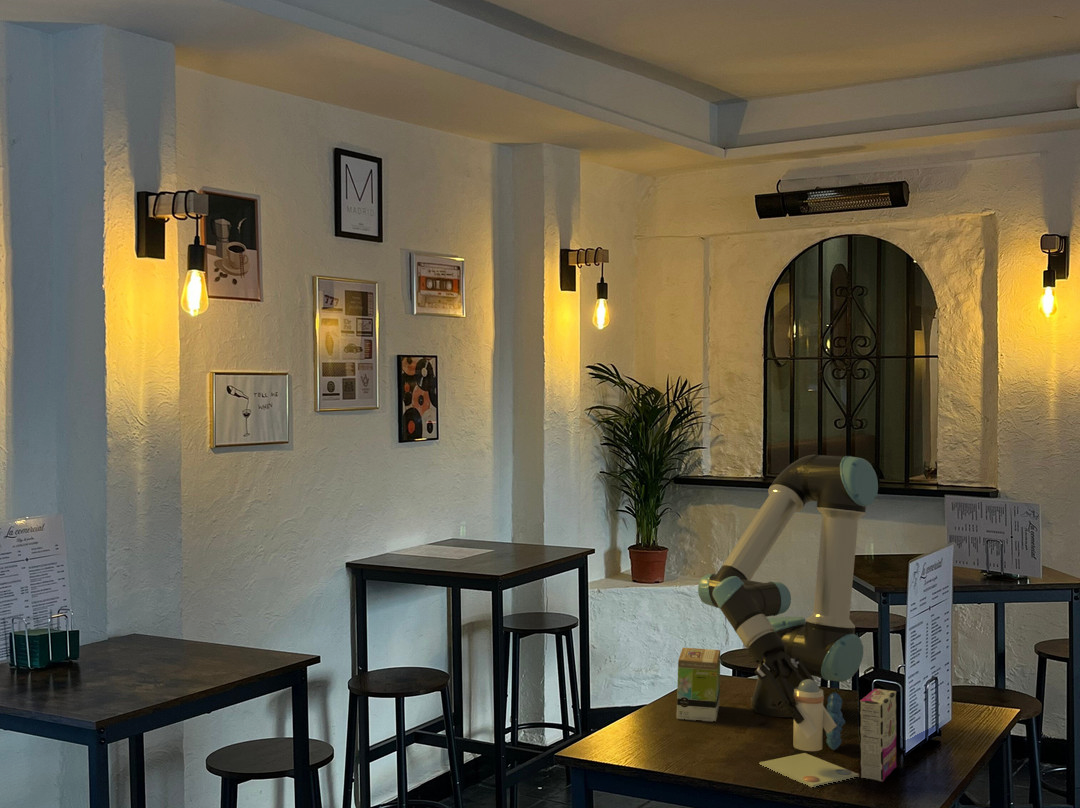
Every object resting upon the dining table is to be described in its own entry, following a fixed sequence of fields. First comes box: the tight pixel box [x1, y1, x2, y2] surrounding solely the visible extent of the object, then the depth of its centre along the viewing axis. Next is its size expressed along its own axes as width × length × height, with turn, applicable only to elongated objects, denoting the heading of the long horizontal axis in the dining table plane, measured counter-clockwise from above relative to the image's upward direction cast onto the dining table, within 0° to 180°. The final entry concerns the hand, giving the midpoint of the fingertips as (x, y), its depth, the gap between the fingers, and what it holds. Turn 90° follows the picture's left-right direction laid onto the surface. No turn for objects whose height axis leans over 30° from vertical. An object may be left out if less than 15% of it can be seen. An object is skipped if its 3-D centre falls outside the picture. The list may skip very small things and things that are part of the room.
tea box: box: [676, 647, 721, 722], centre depth 280 cm, size 15×10×15 cm
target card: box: [759, 752, 860, 788], centre depth 237 cm, size 13×16×1 cm
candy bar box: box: [859, 688, 897, 783], centre depth 236 cm, size 11×5×16 cm, turn 148°
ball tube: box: [792, 679, 825, 752], centre depth 237 cm, size 6×6×14 cm
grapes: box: [825, 691, 846, 751], centre depth 254 cm, size 12×7×12 cm, turn 163°
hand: (822, 732), depth 234 cm, fingers closed on ball tube, 6 cm apart
